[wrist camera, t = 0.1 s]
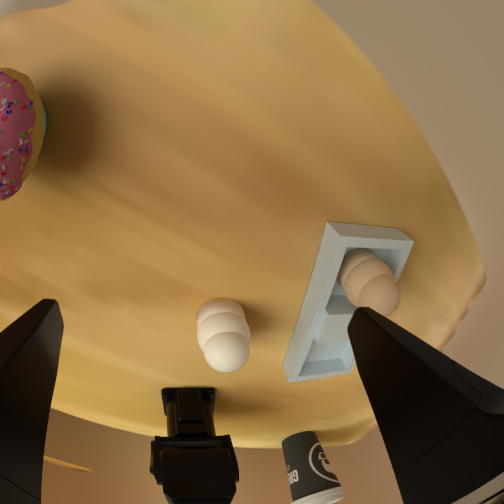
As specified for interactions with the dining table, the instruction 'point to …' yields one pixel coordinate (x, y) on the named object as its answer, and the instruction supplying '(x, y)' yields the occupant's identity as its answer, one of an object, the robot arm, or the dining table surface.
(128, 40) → the dining table surface
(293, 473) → the coffee cup
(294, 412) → the dining table surface
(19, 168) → the cupcake
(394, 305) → the brown egg
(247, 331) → the cream egg
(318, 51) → the dining table surface
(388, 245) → the egg carton
